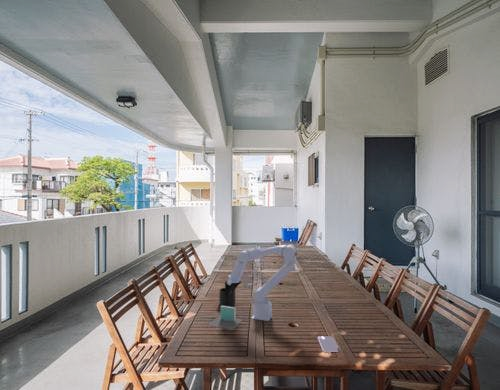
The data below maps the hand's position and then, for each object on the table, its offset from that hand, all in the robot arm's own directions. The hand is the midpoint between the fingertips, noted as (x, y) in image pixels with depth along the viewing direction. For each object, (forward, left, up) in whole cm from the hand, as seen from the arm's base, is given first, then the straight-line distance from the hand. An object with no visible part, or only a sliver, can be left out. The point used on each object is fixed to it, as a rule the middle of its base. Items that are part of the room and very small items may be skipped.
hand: (228, 293), depth 183 cm
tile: (-4, +9, -11) cm, 15 cm away
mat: (-4, +12, -12) cm, 17 cm away
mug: (+6, -12, -12) cm, 18 cm away
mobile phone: (-56, +17, -12) cm, 60 cm away
